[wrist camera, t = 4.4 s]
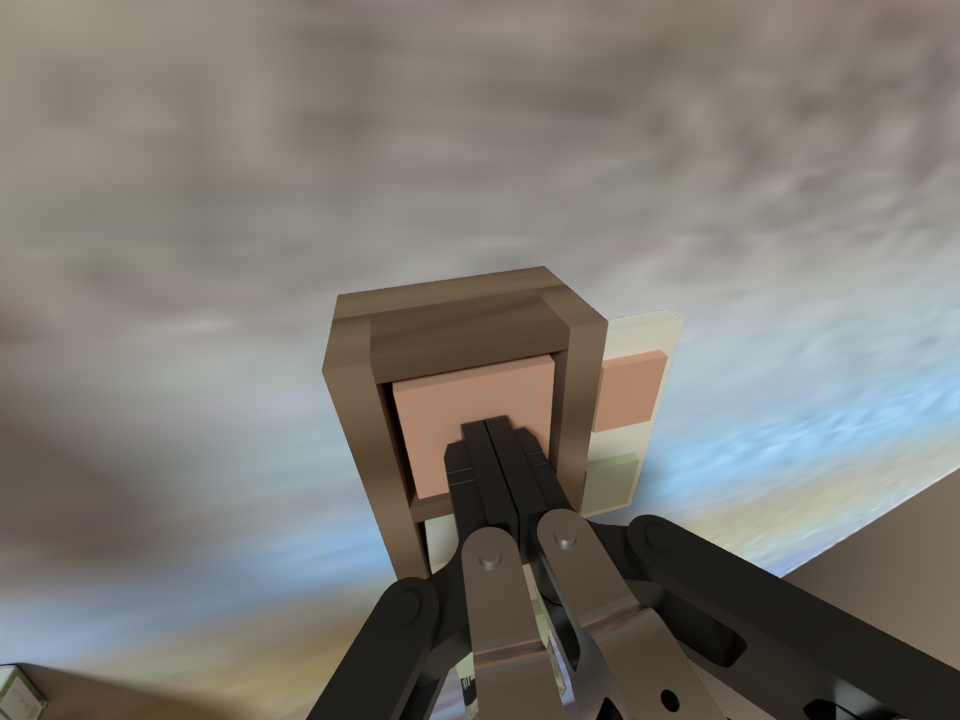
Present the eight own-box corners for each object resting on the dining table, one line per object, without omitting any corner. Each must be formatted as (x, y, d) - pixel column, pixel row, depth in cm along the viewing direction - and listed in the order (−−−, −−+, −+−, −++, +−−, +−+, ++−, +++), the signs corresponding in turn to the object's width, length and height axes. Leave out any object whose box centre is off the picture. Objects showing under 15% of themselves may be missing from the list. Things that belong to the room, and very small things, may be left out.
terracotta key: (390, 347, 12) (393, 392, 10) (526, 324, 13) (554, 362, 11) (412, 447, 15) (418, 499, 13) (525, 423, 16) (547, 468, 14)
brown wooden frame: (338, 295, 13) (321, 371, 9) (544, 266, 15) (608, 321, 11) (419, 572, 25) (427, 662, 20) (532, 541, 26) (561, 620, 22)
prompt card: (572, 325, 17) (589, 343, 15) (670, 309, 17) (694, 324, 16) (554, 511, 24) (564, 532, 23) (622, 493, 25) (636, 513, 24)
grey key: (422, 504, 15) (430, 566, 13) (536, 477, 15) (561, 531, 13) (437, 566, 17) (445, 625, 15) (533, 540, 18) (553, 593, 16)
